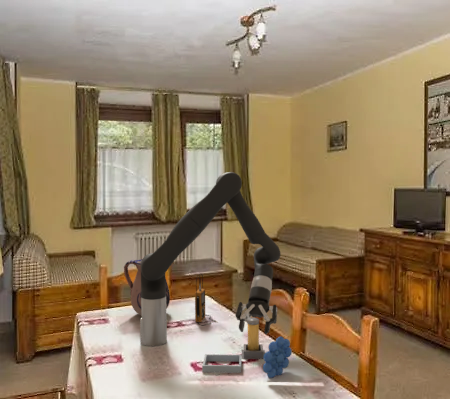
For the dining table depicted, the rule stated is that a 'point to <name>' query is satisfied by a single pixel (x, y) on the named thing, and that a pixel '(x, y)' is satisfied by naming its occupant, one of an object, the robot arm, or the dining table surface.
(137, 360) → the dining table surface
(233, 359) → the tray
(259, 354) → the socket block
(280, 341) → the grapes
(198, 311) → the multimeter
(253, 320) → the cylinder
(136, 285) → the ceramic pitcher
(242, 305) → the robot arm
